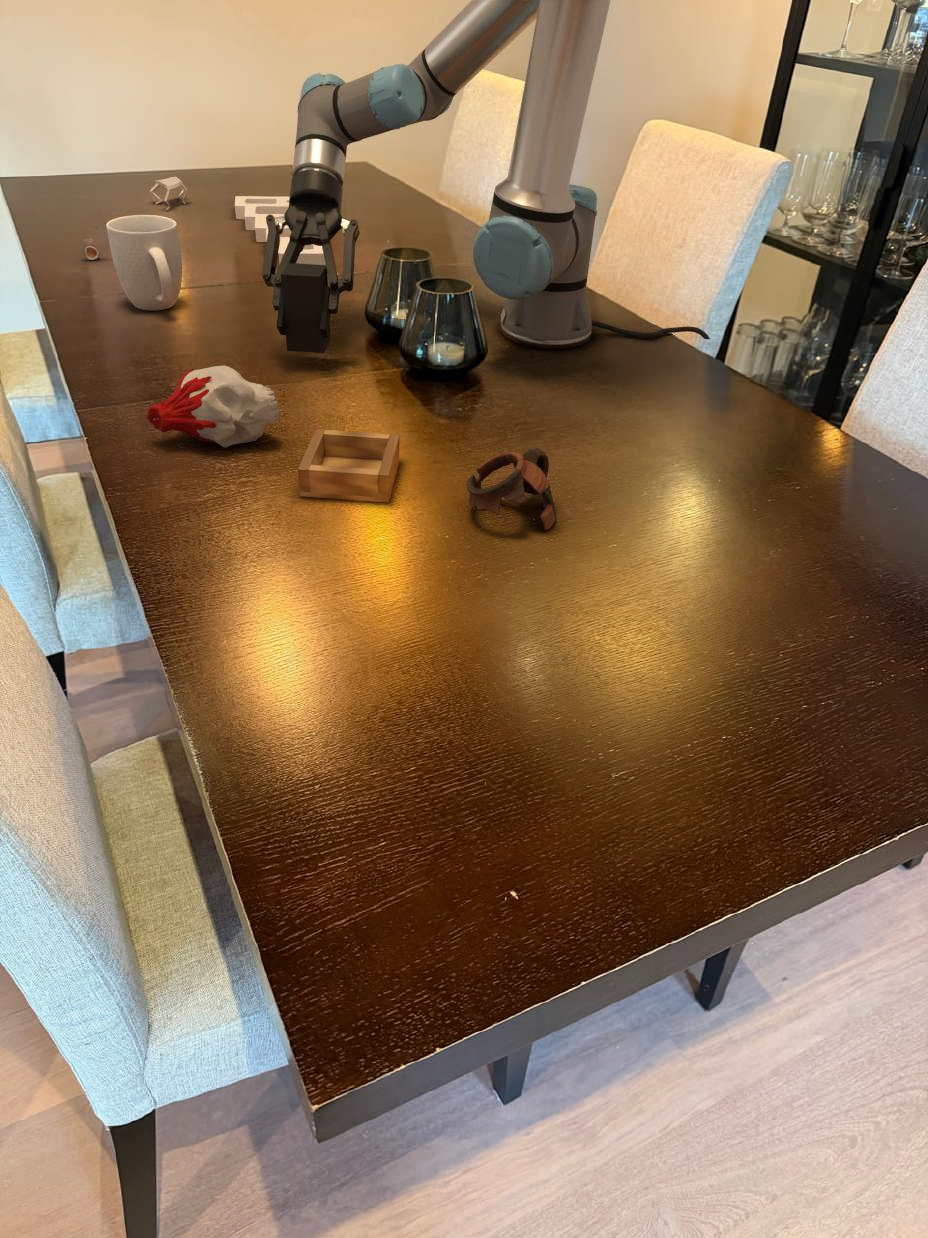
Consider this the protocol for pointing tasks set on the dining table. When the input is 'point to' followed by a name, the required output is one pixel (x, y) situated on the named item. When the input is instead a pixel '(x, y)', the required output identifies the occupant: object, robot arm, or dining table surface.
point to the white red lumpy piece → (216, 407)
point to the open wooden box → (349, 465)
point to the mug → (147, 259)
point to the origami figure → (169, 188)
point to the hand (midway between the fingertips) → (302, 331)
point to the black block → (304, 307)
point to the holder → (255, 219)
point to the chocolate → (91, 251)
